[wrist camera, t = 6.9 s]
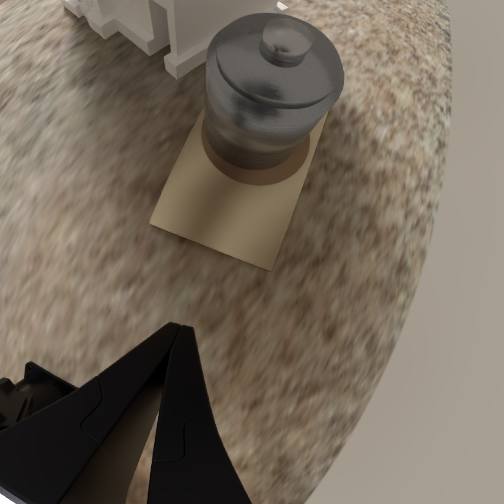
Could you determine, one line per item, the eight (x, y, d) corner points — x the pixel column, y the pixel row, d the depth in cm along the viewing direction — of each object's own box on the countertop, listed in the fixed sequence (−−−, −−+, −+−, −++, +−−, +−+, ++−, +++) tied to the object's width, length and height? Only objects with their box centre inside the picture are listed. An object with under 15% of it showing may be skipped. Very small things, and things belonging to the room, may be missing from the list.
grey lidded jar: (188, 148, 21) (178, 58, 10) (227, 74, 22) (244, -23, 11) (282, 185, 22) (346, 123, 11) (311, 108, 23) (370, 28, 12)
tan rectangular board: (150, 224, 21) (148, 223, 20) (225, 71, 22) (226, 67, 22) (269, 271, 22) (271, 271, 22) (326, 113, 24) (329, 110, 23)
